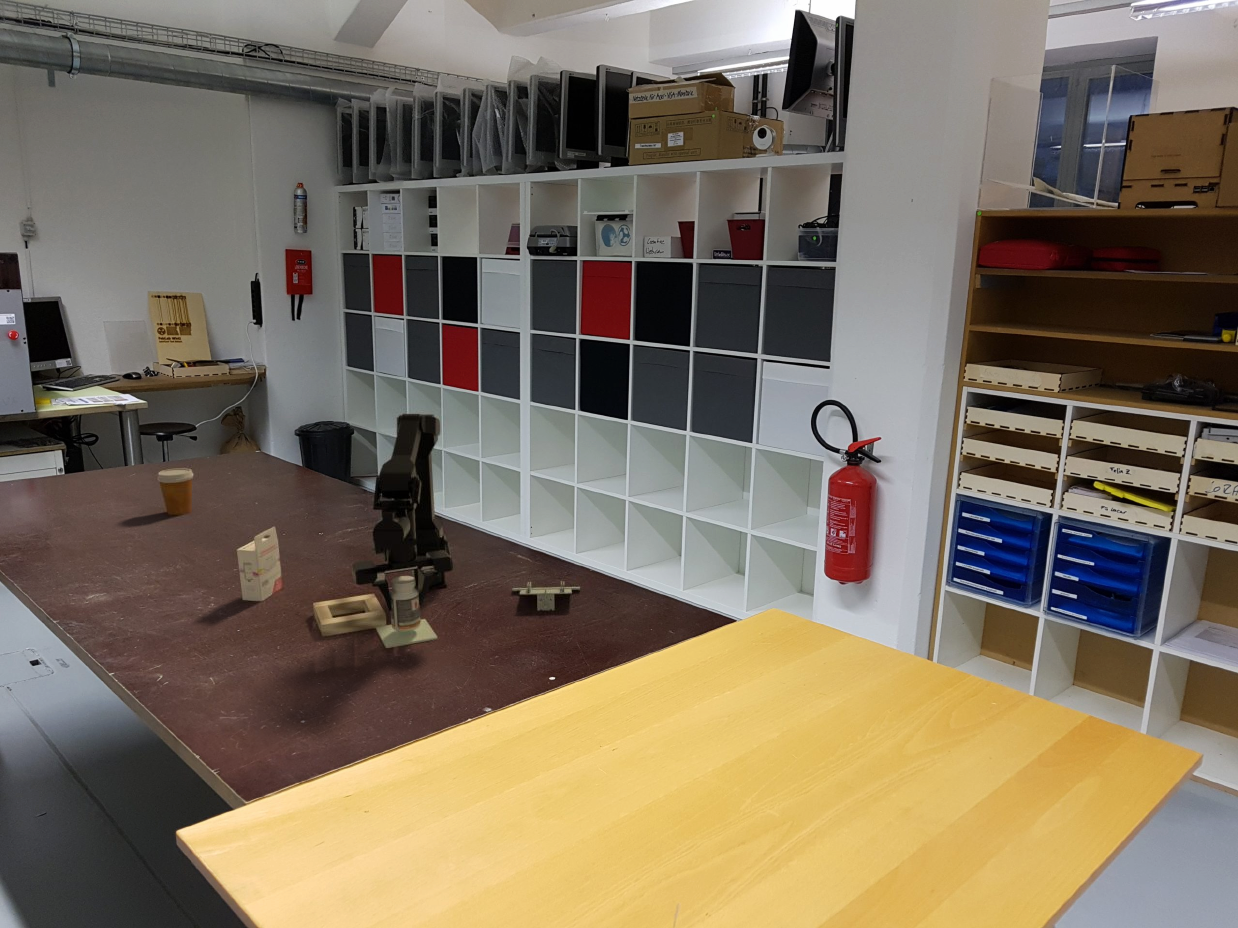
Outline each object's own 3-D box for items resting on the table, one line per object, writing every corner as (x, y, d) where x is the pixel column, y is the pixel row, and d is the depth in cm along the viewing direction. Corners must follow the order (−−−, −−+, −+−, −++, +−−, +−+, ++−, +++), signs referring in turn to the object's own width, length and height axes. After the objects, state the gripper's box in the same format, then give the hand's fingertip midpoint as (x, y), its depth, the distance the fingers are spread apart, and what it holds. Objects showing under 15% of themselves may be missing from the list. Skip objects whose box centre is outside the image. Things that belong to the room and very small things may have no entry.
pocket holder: (374, 604, 200) (373, 593, 199) (386, 625, 189) (385, 614, 188) (313, 614, 195) (313, 602, 194) (322, 636, 184) (321, 624, 183)
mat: (425, 620, 191) (425, 618, 191) (437, 638, 182) (437, 637, 182) (375, 628, 187) (375, 627, 187) (386, 648, 178) (386, 646, 178)
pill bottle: (426, 623, 186) (423, 576, 184) (410, 634, 181) (408, 586, 179) (401, 619, 188) (398, 573, 186) (385, 630, 183) (382, 582, 180)
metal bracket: (581, 584, 196) (509, 585, 195) (581, 611, 196) (510, 613, 195) (579, 579, 211) (513, 580, 210) (579, 604, 210) (513, 606, 209)
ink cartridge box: (263, 586, 210) (257, 524, 207) (283, 588, 209) (277, 525, 206) (240, 600, 202) (234, 535, 199) (261, 602, 201) (255, 537, 198)
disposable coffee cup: (204, 510, 269) (200, 470, 266) (173, 518, 261) (169, 477, 258) (184, 505, 274) (180, 466, 271) (154, 513, 266) (149, 472, 263)
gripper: (437, 515, 191) (440, 586, 195) (344, 527, 183) (349, 601, 187) (452, 530, 181) (455, 605, 185) (353, 543, 173) (359, 621, 177)
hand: (404, 607), depth 184 cm, fingers closed on pill bottle, 6 cm apart
